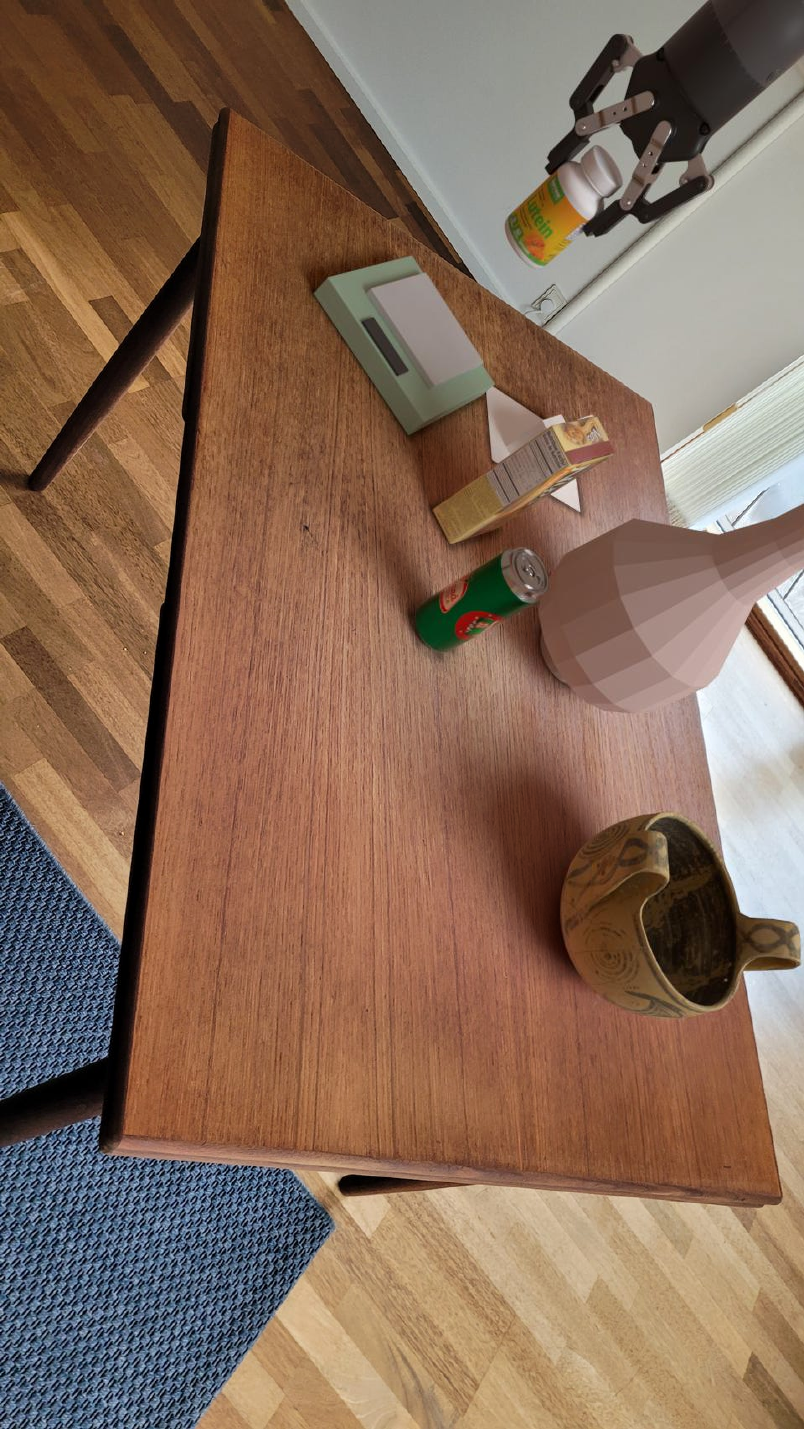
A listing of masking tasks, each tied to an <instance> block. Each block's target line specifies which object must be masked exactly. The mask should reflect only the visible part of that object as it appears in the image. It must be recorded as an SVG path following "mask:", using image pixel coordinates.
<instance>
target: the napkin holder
mask: <svg viewBox="0 0 804 1429" xmlns="http://www.w3.org/2000/svg"><path fill="white" fill-rule="evenodd" d="M485 393H486V405H487V417H488V430H489V442H490V454H491V461H493V462H495V463H496V464H498V463H499V462H501V461H502V460H504V459H505V458H506V457H508V456H509V455H511V454H512V453H513V452H515V451H516V450H518V449H519V448H521V447H522V446H524V445H525V444H526V443H528V442H529V441H531V440H532V439H534V438H535V437H536V436H538V435H539V434H540V433H542V432H543V431H545V430H546V429H547V428H549V427H550V426H551V425H556V424H561V423H566V422H567V421H566V420H565V418H564V417H563V415H562V414H558V415H554V416H552V417H547V418H545V419H543V418H541V417H540V416H539V415H537V414H535V413H533V412H532V411H531V410H529V409H528V408H526V407H525V406H523V405H521V404H520V403H518V402H517V401H516V400H514V399H513V398H511V397H510V396H508V395H506V394H505V393H504V392H502V391H501V390H499V389H497V388H496V387H495V386H492V387H491V388H490V389H489V390H488V391H486V392H485ZM588 417H595V416H594V415H593V414H589V415H587V416H584V417H581V418H578V419H577V420H580V419H584V418H588ZM578 490H579V489H578V483H577V478H576V479H574V480H573V481H571V482H570V483H568V484H566V485H565V486H563V487H561V488H560V489H558V490H557V491H555V492H553V493H552V494H550V495H549V496H552V497H553V498H555V499H558V500H559V501H561V502H562V503H564V504H566V505H567V506H569V507H571V508H572V509H574V510H575V511H577V512H579V513H581V507H580V505H581V504H580V499H579V498H580V497H579V491H578Z"/></svg>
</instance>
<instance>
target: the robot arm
mask: <svg viewBox="0 0 804 1429" xmlns="http://www.w3.org/2000/svg"><path fill="white" fill-rule="evenodd" d="M803 57H804V0H707V1H706V2H705V3H703V5H702V6H701V7H699V9H697V11H696V12H694V13H693V15H692V16H691V17H690V18H688V19H687V20H686V22H684V23H683V24H682V26H680V27H679V28H678V29H677V30H676V31H675V32H674V33H673V34H672V35H671V37H669V39H668V40H666V41H665V42H664V43H663V44H662V45H661V46H660V48H658V49H657V50H656V51H654V52H652V53H650V54H649V53H648V54H645V55H644V54H643V53H642V52H641V51H640V50H639V49H638V48H637V47H636V46H635V42H634V38H633V37H632V36H631V35H628V34H625V33H615V34H612V36H611V37H610V38H609V40H608V41H607V43H606V44H605V46H604V47H603V49H602V50H601V52H600V53H599V54H598V56H597V57H596V59H595V60H594V62H593V63H592V65H591V66H590V67H589V69H588V70H587V72H586V73H585V74H584V76H583V78H582V79H581V81H580V83H578V85H577V87H576V88H575V89H574V91H573V92H572V94H571V95H570V97H569V99H568V105H569V108H570V109H571V110H572V113H573V116H574V124H573V127H572V128H571V130H570V131H569V132H568V133H566V135H565V136H564V137H563V138H562V139H561V140H560V141H559V142H558V143H557V144H556V145H555V146H553V148H552V149H551V150H550V151H549V152H548V154H547V156H546V160H547V161H548V163H547V164H546V165H545V166H544V170H545V171H546V173H547V175H548V176H550V175H551V174H553V173H554V172H555V171H556V170H557V169H558V168H559V167H560V166H561V165H562V164H563V163H565V162H567V161H573V160H574V159H575V158H576V156H578V155H579V154H580V153H581V152H582V151H583V149H585V148H586V147H587V146H588V145H589V144H590V143H591V140H590V138H592V137H593V136H594V135H596V134H599V133H601V132H603V131H606V130H609V129H611V128H615V127H619V128H620V131H621V132H622V133H623V135H624V136H625V137H626V138H627V139H629V140H630V142H631V145H632V149H633V152H634V154H635V155H636V157H637V159H638V160H639V161H638V163H637V164H636V167H635V168H634V170H633V171H632V175H631V178H630V181H629V183H628V185H627V187H626V188H625V190H624V192H623V194H622V195H621V198H618V199H615V200H614V201H613V202H612V203H610V204H609V205H608V206H606V207H605V208H604V211H603V212H601V213H600V214H599V215H598V216H597V217H596V218H595V219H594V220H592V221H591V222H590V223H589V224H588V225H587V226H586V227H585V228H584V229H583V233H584V235H585V237H586V238H589V237H592V236H594V238H599V237H602V236H604V235H607V234H609V232H610V231H612V230H613V229H614V228H615V227H616V226H618V225H619V224H620V223H621V222H622V221H623V220H625V219H626V218H627V217H628V216H629V215H632V216H633V217H634V218H636V219H637V221H638V223H640V224H641V225H647V224H649V223H652V222H655V221H657V220H659V219H661V218H662V217H665V216H667V215H668V214H670V213H671V212H674V211H676V210H677V209H679V208H680V207H683V206H684V205H686V204H688V203H689V202H691V201H694V200H696V198H698V197H700V196H702V195H704V194H705V193H707V192H709V191H711V190H712V189H713V187H714V185H715V182H716V181H715V178H714V176H713V175H712V174H709V173H708V170H707V167H706V165H705V161H704V158H703V156H702V154H703V152H704V151H705V148H706V147H707V144H708V142H709V141H710V140H711V138H712V137H713V136H714V135H715V134H716V133H717V132H719V130H721V129H722V128H723V127H724V126H726V125H727V124H728V123H729V121H731V120H732V119H734V117H736V116H737V115H738V114H739V113H740V112H742V110H744V109H745V108H746V107H747V106H748V105H749V104H751V103H752V102H753V101H754V100H755V99H756V98H758V96H760V95H761V94H762V93H763V92H765V91H766V90H767V89H768V88H769V87H770V86H771V85H772V84H774V83H775V82H776V81H777V80H778V79H779V78H781V76H783V75H784V74H785V73H786V72H787V71H788V70H790V69H791V68H792V67H794V65H795V64H797V62H798V61H800V60H801V59H802V58H803ZM629 68H632V71H631V74H630V76H629V77H630V78H629V80H628V83H627V87H626V91H625V94H624V98H623V100H622V101H620V102H617V103H614V104H612V105H609V106H607V107H604V108H602V109H600V110H599V111H596V112H595V109H594V104H595V103H596V101H597V99H598V98H599V97H600V95H601V94H602V93H603V91H605V88H607V85H608V84H609V83H610V81H611V80H612V78H613V77H614V76H615V75H616V74H622V73H624V72H626V71H627V70H628V69H629ZM679 162H680V163H681V162H687V168H686V170H685V171H684V172H683V173H682V174H681V175H680V177H679V179H678V186H679V187H677V188H675V189H673V190H671V191H669V193H667V194H665V195H663V196H662V197H660V198H658V199H656V200H654V201H652V202H651V201H649V200H648V199H647V198H646V197H647V195H648V193H649V192H650V190H651V188H652V186H653V185H654V183H656V181H657V180H658V179H659V176H660V175H661V173H662V171H663V169H664V167H665V166H666V164H668V163H669V164H670V163H679Z"/></svg>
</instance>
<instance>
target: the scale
mask: <svg viewBox="0 0 804 1429" xmlns="http://www.w3.org/2000/svg"><path fill="white" fill-rule="evenodd" d="M313 295H314V297H315V298H316V300H317V301H318V303H319V304H320V306H321V307H322V309H323V310H324V312H325V313H326V314H327V316H328V318H329V319H330V321H331V322H332V323H333V326H334V327H335V328H336V330H337V332H338V333H339V334H340V336H341V337H342V339H343V340H344V342H345V343H346V345H347V346H348V348H349V349H350V350H351V352H352V353H353V355H354V357H355V358H356V360H357V361H358V363H359V364H360V365H361V367H362V369H363V371H365V373H366V374H367V377H368V378H369V380H371V382H372V384H374V386H375V388H376V389H377V391H378V393H379V394H380V396H381V397H382V399H383V400H384V401H385V403H386V405H387V406H388V408H389V409H390V410H391V412H392V413H393V415H394V416H395V418H396V419H397V421H398V422H399V424H400V425H401V427H402V428H403V429H404V431H405V433H406V434H407V436H410V435H412V434H414V433H415V432H417V431H419V430H421V429H424V428H425V427H427V426H429V425H431V424H432V423H434V422H436V421H437V420H440V419H441V418H443V417H445V416H448V415H449V414H451V413H452V412H455V411H456V410H459V409H461V408H462V407H464V406H466V405H467V404H470V403H471V402H473V401H475V400H476V399H478V398H481V397H482V396H483V395H484V394H485V393H486V391H488V390H489V389H490V388H491V387H492V386H493V387H495V385H496V383H495V382H494V380H493V379H492V377H491V376H490V374H489V373H488V371H487V369H486V368H485V366H484V364H483V363H484V360H483V358H482V357H481V356H480V354H479V353H478V351H477V349H476V347H475V346H474V345H473V343H472V342H471V340H470V339H469V337H468V335H467V334H466V332H465V331H464V329H463V328H462V326H461V324H460V322H458V320H457V318H456V317H455V315H454V314H453V313H452V310H451V309H450V308H449V306H448V305H447V303H446V302H445V299H444V298H443V297H442V295H441V293H440V292H439V290H438V289H437V287H436V286H435V284H434V283H433V280H432V279H431V278H430V276H429V275H428V273H427V272H426V271H424V272H423V270H422V268H421V267H420V266H419V264H418V262H417V261H416V259H415V257H414V256H413V255H407V256H404V257H401V258H397V259H392V260H388V261H385V262H380V263H378V264H374V265H370V266H366V267H361V268H358V269H355V270H351V271H346V272H343V273H339V274H335V275H332V276H328V277H327V278H326V279H325V280H323V282H322V283H321V284H320V285H319V286H318V288H316V290H314V292H313Z"/></svg>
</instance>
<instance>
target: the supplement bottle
mask: <svg viewBox="0 0 804 1429" xmlns="http://www.w3.org/2000/svg"><path fill="white" fill-rule="evenodd" d="M623 185H624V180H623V176H622V173H621V171H620V167H618V164H617V163H616V161H615V160H614V158H613V157H612V156H611V154H610V153H609V152H608V151H607V150H606V148H605V149H604V148H603V147H602V146H601V145H598V144H595V145H593V146H591V148H590V149H588V151H586V152H585V153H584V154H583V155H582V156H581V158H580V162H578V161H575V160H571V161H567V162H565V163H563V164H562V165H561V166H560V167H559V168H558V169H557V170H556V171H555V172H554V173H553V174H551V175H548V177H547V178H546V179H545V180H544V181H543V182H542V183H541V184H540V185H539V186H538V187H537V188H536V189H535V190H534V191H533V192H532V193H530V194H529V195H528V197H526V198H525V199H524V200H523V201H522V202H521V203H520V204H519V205H518V206H517V207H516V208H515V209H514V210H513V211H512V212H511V213H509V215H508V216H507V218H506V219H505V221H504V232H505V236H506V238H507V241H508V243H509V245H510V247H511V248H512V250H513V251H514V252H515V254H517V256H518V257H519V259H520V260H521V261H523V262H524V263H525V264H526V265H527V266H529V267H530V268H532V269H534V270H535V269H536V270H540V269H542V268H543V269H544V267H545V266H547V265H548V264H549V263H551V261H553V260H554V259H555V258H556V257H557V256H558V255H559V254H560V253H562V252H563V251H564V250H565V249H567V247H569V245H571V244H572V243H573V242H574V241H575V240H576V239H577V238H578V237H580V236H581V235H582V234H583V233H584V232H583V229H584V228H585V227H586V226H587V225H588V224H589V223H590V222H591V221H592V220H594V219H595V218H596V217H597V216H598V215H599V214H600V213H601V212H603V211H604V210H605V199H610V197H613V196H614V195H615V193H617V192H618V191H619V190H620V189H621V188H622V187H623Z"/></svg>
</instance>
